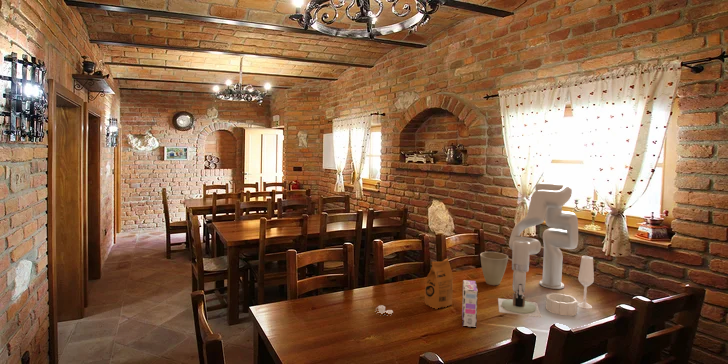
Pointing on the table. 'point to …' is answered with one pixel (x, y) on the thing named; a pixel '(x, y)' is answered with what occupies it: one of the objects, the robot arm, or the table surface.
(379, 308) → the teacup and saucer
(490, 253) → the plant pot
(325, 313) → the table surface
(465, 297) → the candy box
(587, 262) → the champagne flute
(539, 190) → the robot arm
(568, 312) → the bowl
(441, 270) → the coffee package
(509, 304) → the lid
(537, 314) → the mat
